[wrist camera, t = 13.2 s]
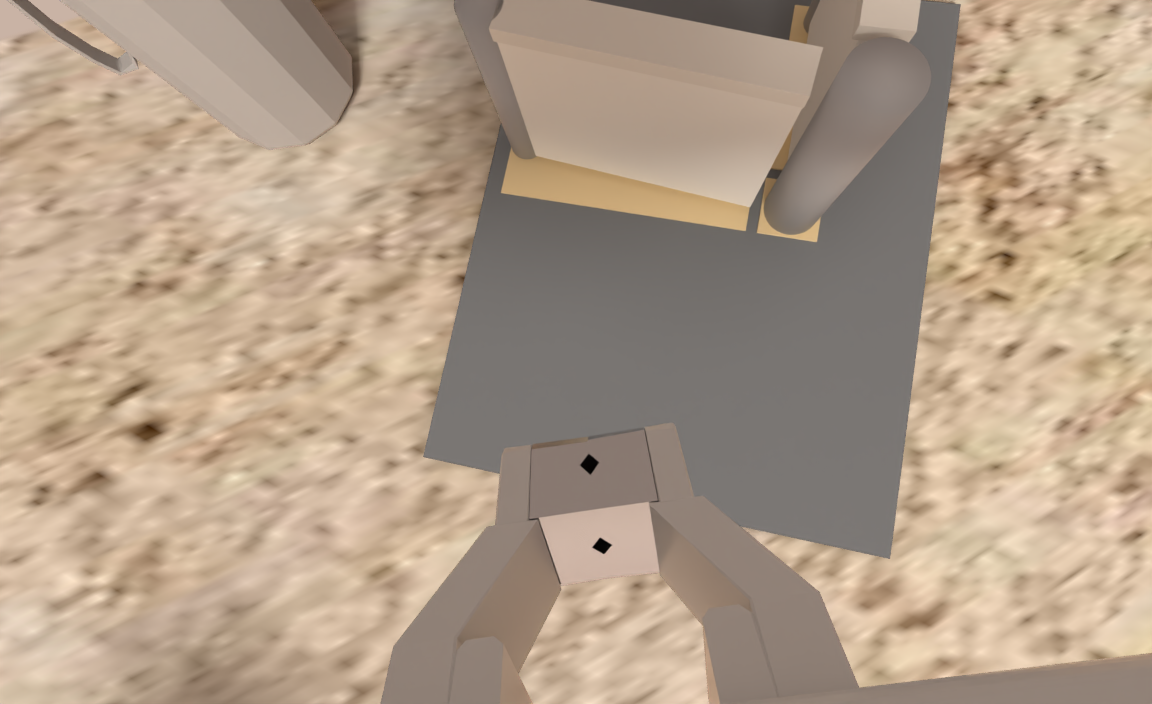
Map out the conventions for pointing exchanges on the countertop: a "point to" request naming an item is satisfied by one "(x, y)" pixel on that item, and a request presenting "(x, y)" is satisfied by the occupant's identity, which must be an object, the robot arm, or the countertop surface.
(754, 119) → the beige rectangular panel
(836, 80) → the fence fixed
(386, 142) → the countertop surface
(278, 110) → the water bottle
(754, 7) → the mat
